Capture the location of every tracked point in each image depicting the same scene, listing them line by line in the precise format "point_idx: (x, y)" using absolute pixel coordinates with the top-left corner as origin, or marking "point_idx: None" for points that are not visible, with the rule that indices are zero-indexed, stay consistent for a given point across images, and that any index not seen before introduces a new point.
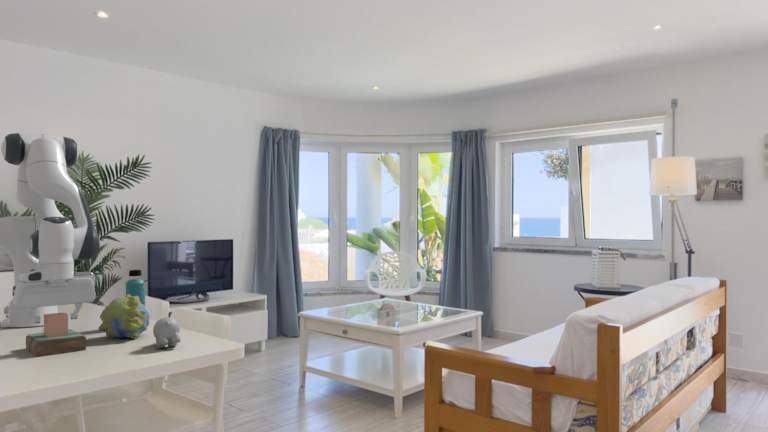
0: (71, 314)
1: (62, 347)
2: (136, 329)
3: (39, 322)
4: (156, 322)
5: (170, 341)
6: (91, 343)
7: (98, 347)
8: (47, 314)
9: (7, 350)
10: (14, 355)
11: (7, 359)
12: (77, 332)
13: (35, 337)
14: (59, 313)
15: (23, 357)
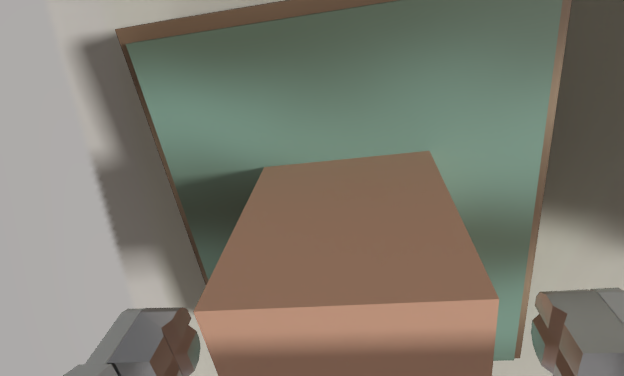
0: (569, 361)
1: None
2: None
3: (191, 351)
4: None
5: None
6: (608, 127)
7: (572, 279)
8: (245, 364)
9: (54, 12)
10: (141, 208)
11: (129, 277)
12: (531, 220)
13: (209, 233)
14: (408, 374)
15: (193, 279)
